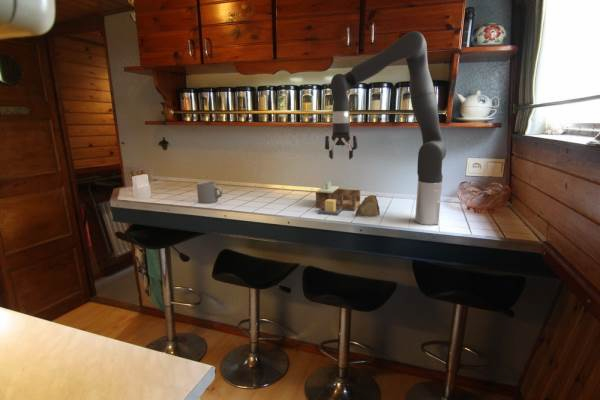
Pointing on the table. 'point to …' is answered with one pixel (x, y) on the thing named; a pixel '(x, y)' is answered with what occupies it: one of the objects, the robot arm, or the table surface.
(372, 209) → the rock
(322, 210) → the dish
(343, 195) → the wooden drawer box
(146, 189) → the base with upright slab
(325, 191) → the lid
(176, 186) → the table surface
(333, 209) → the block
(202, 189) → the coffee mug
